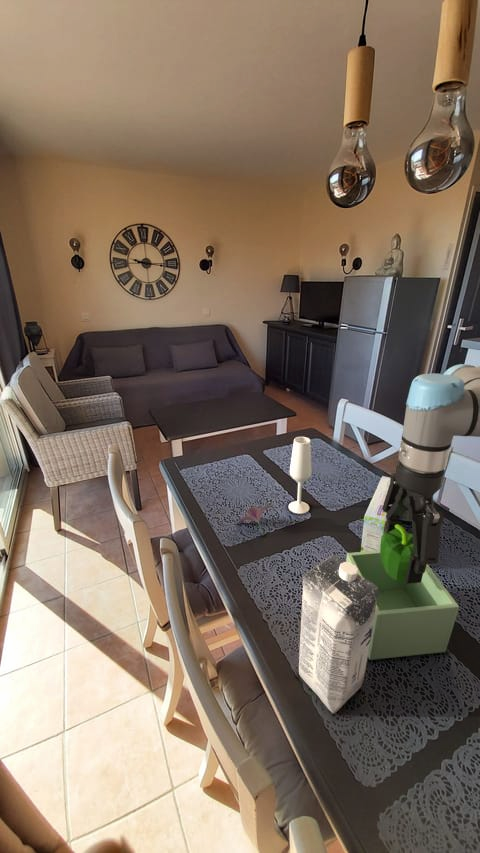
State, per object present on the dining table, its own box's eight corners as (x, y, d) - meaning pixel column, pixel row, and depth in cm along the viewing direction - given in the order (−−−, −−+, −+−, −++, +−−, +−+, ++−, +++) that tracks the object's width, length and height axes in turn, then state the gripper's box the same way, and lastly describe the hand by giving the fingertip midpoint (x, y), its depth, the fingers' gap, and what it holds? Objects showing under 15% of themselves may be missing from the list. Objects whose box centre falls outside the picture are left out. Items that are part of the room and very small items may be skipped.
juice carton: (334, 725, 61) (349, 612, 50) (291, 673, 69) (296, 566, 58) (367, 691, 65) (387, 581, 55) (323, 646, 73) (333, 542, 62)
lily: (280, 521, 111) (269, 492, 111) (282, 533, 99) (270, 501, 99) (243, 534, 112) (233, 505, 112) (241, 547, 100) (229, 515, 100)
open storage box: (406, 588, 86) (414, 547, 81) (445, 652, 72) (459, 606, 66) (342, 594, 85) (346, 553, 80) (369, 660, 71) (377, 614, 65)
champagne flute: (286, 511, 114) (288, 443, 104) (290, 499, 120) (292, 434, 110) (308, 515, 112) (312, 446, 102) (310, 502, 118) (314, 436, 108)
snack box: (375, 517, 110) (381, 474, 104) (394, 522, 108) (402, 479, 101) (357, 562, 94) (363, 515, 88) (379, 570, 91) (388, 522, 85)
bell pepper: (429, 588, 68) (440, 547, 64) (386, 588, 69) (393, 547, 65) (411, 556, 76) (419, 517, 72) (372, 556, 76) (378, 518, 72)
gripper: (373, 438, 72) (361, 529, 81) (435, 501, 52) (410, 611, 62) (410, 436, 72) (393, 526, 81) (484, 497, 53) (452, 607, 62)
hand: (401, 563), depth 72 cm, fingers closed on bell pepper, 8 cm apart
